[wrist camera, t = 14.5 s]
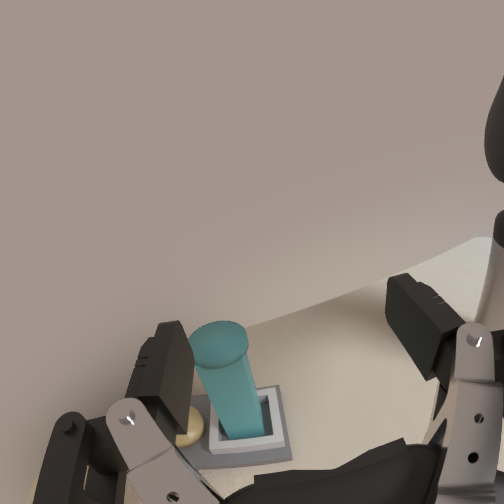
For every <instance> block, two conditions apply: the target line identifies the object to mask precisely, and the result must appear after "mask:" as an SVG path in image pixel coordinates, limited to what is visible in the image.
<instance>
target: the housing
mask: <svg viewBox="0 0 504 504" xmlns="http://www.w3.org/2000/svg"><path fill="white" fill-rule="evenodd" d="M256 391H257V394H258V398H259V402H260V405H261V409H262V416H263V424H264V432H265V435H264V436H257V437H250V438H242V439H232V440H230V439H229V437H228V435H227V433H226V431H225V429H224V427H223V425H222V423H221V421H220V419H219V417H218V415H217V413H216V411H215V409H214V407H213V405H212V403H211V401H210V399H209V397H208V395H200V396H191V401H190V410H189V420H188V431H187V435H176V445H177V446H178V447H179V448H180V450H181V451H182V452H183V454H184V455H185V456H186V457H187V458H188V460H189V461H190V462H191V463H192V464H193V466H194V467H195V468H196V469H219V468H235V467H246V466H255V465H264V464H271V463H278V462H284V461H290V460H292V454H291V449H290V443H289V438H288V432H287V427H286V421H285V416H284V410H283V405H282V399H281V394H280V388H279V385H276V386H270V387H264V388H258V389H256Z"/></svg>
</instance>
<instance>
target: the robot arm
mask: <svg viewBox="0 0 504 504" xmlns="http://www.w3.org/2000/svg"><path fill="white" fill-rule="evenodd" d="M484 143H485V144H484V146H485V156H486V160H487V163H488V166H489V168H490V170H491V172H492V174H493V175H494V176H495V177H496V178H497V179H498V180H499V181H501V182H503V183H504V77H503V79H502V82H501V84H500V87H499V89H498V92H497V94H496V96H495V98H494V101H493V104H492V106H491V109H490V112H489V114H488V119H487V123H486V128H485V140H484ZM385 314H386V319H387V322H388V324H389V325H390V327H391V328H392V330H393V331H394V333H395V334H396V336H397V337H398V339H399V340H400V342H401V343H402V345H403V346H404V348H405V349H406V351H407V352H408V354H409V355H410V357H411V358H412V360H413V361H414V363H415V365H416V366H417V368H418V369H419V371H420V372H421V374H422V376H423V377H424V379H425V380H426V381H428V380H430V379H433V378H435V377H437V378H438V380H439V382H438V384H437V389H436V394H435V400H434V405H433V409H432V414H431V418H430V423H429V426H428V430H427V432H426V434H425V437H424V439H423V442H422V444H409V445H406V443H405V441H404V439H403V437H402V438H400V439H398V440H395V441H393V442H390V443H387V444H385V445H382V446H379V447H376V448H374V449H371V450H368V451H367V452H365V453H363V454H362V455H360V456H358V457H356V458H355V459H353V460H351V461H349V462H347V463H346V464H344V465H342V466H340V467H338V468H336V469H331V470H288V471H282V472H276V473H269V474H261V475H254V484H251V485H248V486H246V487H244V488H241V489H239V490H238V491H236V492H234V493H232V494H231V495H230V496H228V497H227V498H225V499H224V498H223V497H222V496H221V495H220V494H219V493H218V492H217V491H216V490H215V489H214V488H213V487H212V486H211V485H210V484H209V483H208V482H207V480H206V479H205V478H204V477H203V476H202V475H201V474H200V473H199V472H198V470H197V469H196V468H195V467H194V466H193V464H192V463H191V462H190V461H189V460H188V458H187V457H186V456H185V455H184V454H183V452H182V451H181V450H180V448H179V447H178V446H177V445H176V435H187V431H188V420H189V410H190V401H191V391H192V383H193V374H194V366H195V360H194V354H193V351H192V348H191V346H190V343H189V341H188V339H187V337H186V334H185V332H184V329H183V327H182V325H181V323H180V321H178V320H177V321H171V322H163V323H159V324H158V327H157V330H156V333H155V336H154V337H149V338H148V339H147V341H146V342H145V343H144V344H143V345H142V347H141V349H140V352H139V355H138V359H137V361H136V364H135V368H134V370H133V373H132V376H131V379H130V382H129V386H128V389H127V392H126V395H125V398H124V399H121V400H119V401H117V402H116V403H114V404H113V405H112V406H111V407H110V408H109V410H108V412H107V415H106V416H103V417H99V418H95V419H91V420H86V419H85V418H84V417H83V416H82V415H81V414H80V413H78V412H68V413H66V414H64V415H62V416H61V417H60V418H59V419H58V420H57V422H56V423H55V426H54V429H53V432H52V434H51V438H50V441H49V444H48V447H47V450H46V453H45V457H44V460H43V464H42V468H41V471H40V475H39V479H38V483H37V487H36V491H35V496H34V501H33V504H124V493H125V483H126V475H127V477H128V480H129V481H130V483H131V485H132V487H133V488H134V490H135V492H136V493H137V495H138V497H139V498H140V500H141V501H142V503H143V504H504V472H502V471H499V470H497V464H498V458H499V450H500V442H501V432H502V417H503V418H504V210H503V211H501V212H500V213H498V215H497V217H496V219H495V224H494V232H493V239H492V246H491V252H490V258H489V264H488V269H487V273H486V278H485V283H484V287H483V291H482V295H481V299H480V303H479V306H478V310H477V313H476V317H475V320H474V323H472V322H471V323H466V322H465V321H464V320H463V319H462V318H461V317H460V316H459V315H458V314H457V313H456V312H455V311H454V310H453V309H452V308H451V307H450V306H449V305H448V304H447V303H446V302H445V301H444V300H443V299H442V298H441V297H440V296H439V295H438V294H437V293H436V292H435V291H434V290H433V289H432V288H431V287H430V286H428V285H426V284H424V283H422V282H417V281H416V280H415V279H413V278H412V277H411V276H410V275H409V274H408V273H403V274H400V275H396V276H392V277H389V279H388V282H387V294H386V306H385ZM87 465H88V466H89V469H88V474H87V480H86V485H85V491H84V488H83V485H84V479H85V474H86V469H87ZM127 470H130V471H128V472H127Z"/></svg>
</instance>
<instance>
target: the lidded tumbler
mask: <svg viewBox="0 0 504 504" xmlns="http://www.w3.org/2000/svg"><path fill="white" fill-rule="evenodd" d="M188 341H189V343H190V346H191V348H192V351H193V354H194V360H195V368H196V370H197V372H198V375H199V377H200V379H201V381H202V384H203V386H204V388H205V390H206V392H207V394H208V397H209V399H210V401H211V403H212V405H213V407H214V409H215V411H216V413H217V415H218V417H219V419H220V421H221V423H222V425H223V427H224V429H225V431H226V433H227V435H228V437H229V439H230V440H232V439H242V438H250V437H257V436H264V435H265V432H264V424H263V416H262V409H261V405H260V402H259V398H258V394H257V391H256V387H255V383H254V380H253V376H252V372H251V368H250V364H249V361H248V357H247V353H246V352H247V349H248V339H247V335H246V331H245V329H244V328H243V327H242V326H241V325H240V324H238V323H235V322H231V321H216V322H212V323H208V324H206V325H204V326H202V327H200V328H198V329H197V330H196V331H194V332H193V333H192V335H191V336H190V337H189V339H188Z"/></svg>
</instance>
